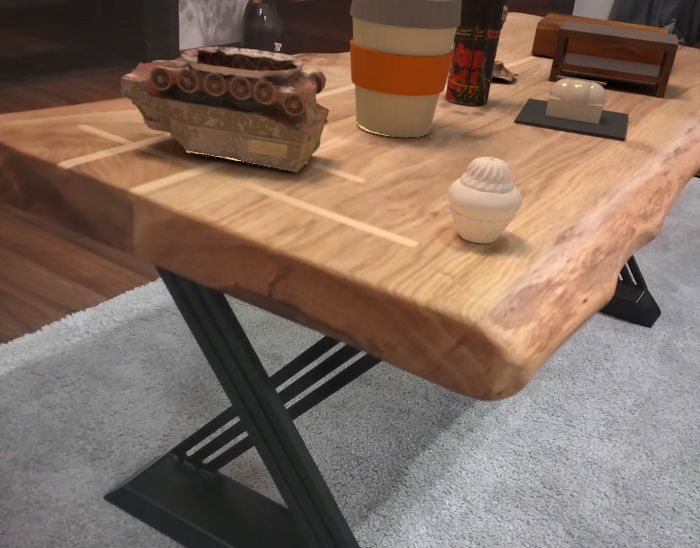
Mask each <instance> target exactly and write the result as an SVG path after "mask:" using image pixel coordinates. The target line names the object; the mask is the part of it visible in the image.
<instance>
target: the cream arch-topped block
mask: <svg viewBox="0 0 700 548" xmlns="http://www.w3.org/2000/svg"><path fill="white" fill-rule="evenodd" d="M603 85H604V86H606V85H607V82H603V81H598V80H589V79H583V78H576V77H569V76H564V75H558V76H557V81H556V82H554V83H553V85H551V88H550V90H549V95H548V96H549V97H548V100H547V101H548V105H547V110H546V115H545V116H550V117H556V118H562V119H568V120H575V121H581V122H587V123H593V124H599V121H600V117H601V113H602V110H604V109H603V108H604V106H605V105H606V102H607V93H606V89H605V88H604V86H603Z"/></svg>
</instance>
